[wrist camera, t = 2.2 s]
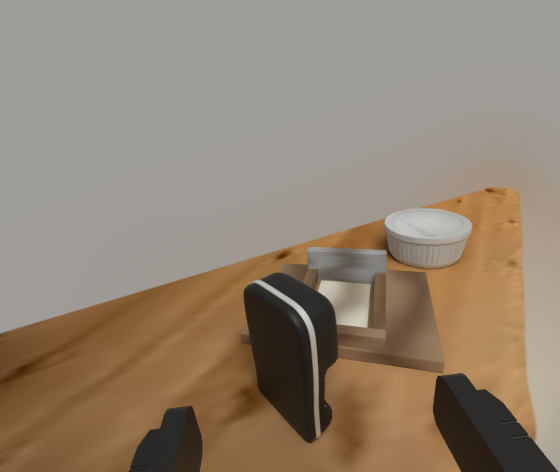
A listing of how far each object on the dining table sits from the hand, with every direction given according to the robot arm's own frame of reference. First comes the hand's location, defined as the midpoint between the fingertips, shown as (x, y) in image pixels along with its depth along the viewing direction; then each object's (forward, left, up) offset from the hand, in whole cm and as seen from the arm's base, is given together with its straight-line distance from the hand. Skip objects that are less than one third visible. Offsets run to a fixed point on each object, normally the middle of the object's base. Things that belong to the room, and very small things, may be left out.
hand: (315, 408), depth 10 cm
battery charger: (-4, +11, -14) cm, 18 cm away
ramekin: (+8, +39, -14) cm, 42 cm away
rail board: (-2, +24, -14) cm, 27 cm away
